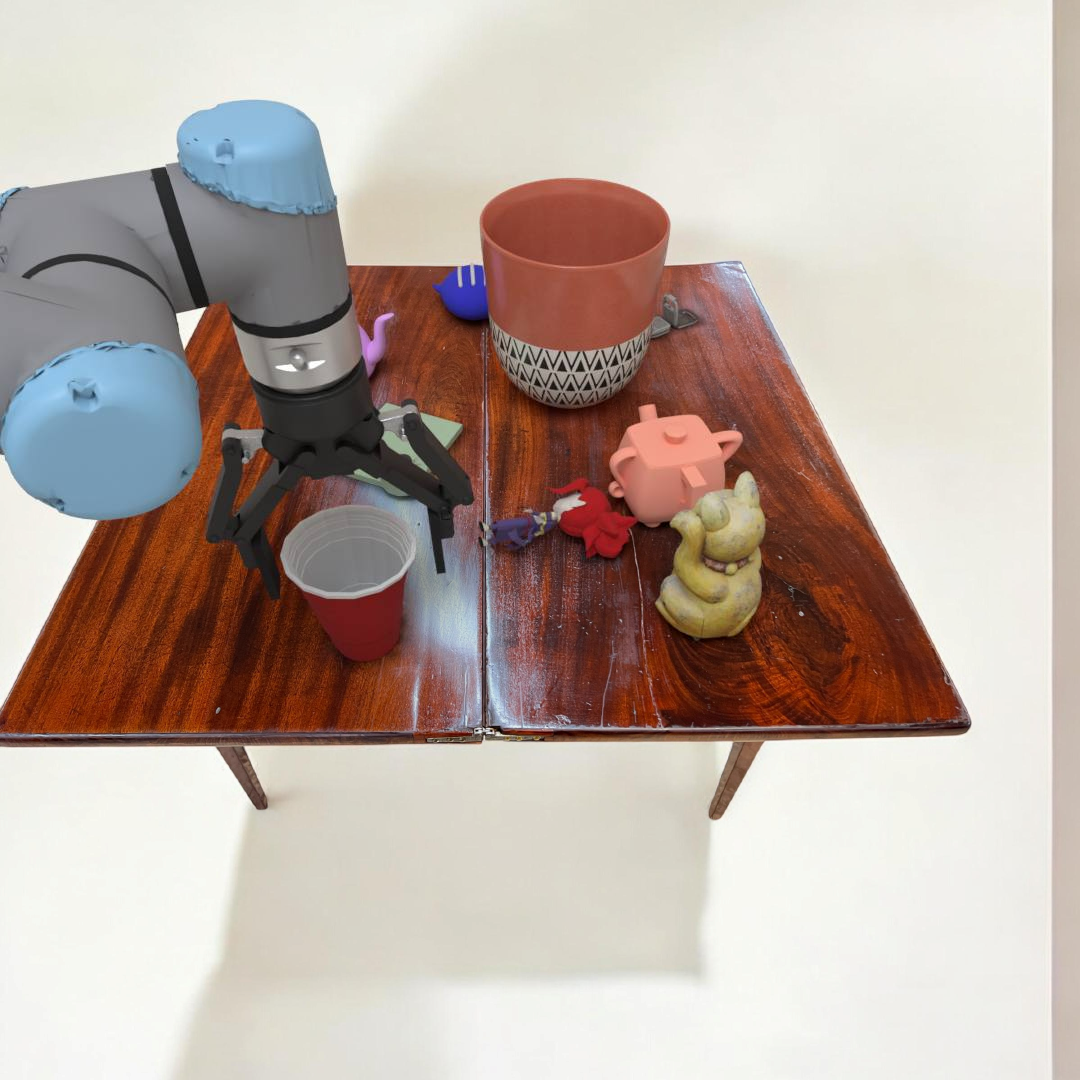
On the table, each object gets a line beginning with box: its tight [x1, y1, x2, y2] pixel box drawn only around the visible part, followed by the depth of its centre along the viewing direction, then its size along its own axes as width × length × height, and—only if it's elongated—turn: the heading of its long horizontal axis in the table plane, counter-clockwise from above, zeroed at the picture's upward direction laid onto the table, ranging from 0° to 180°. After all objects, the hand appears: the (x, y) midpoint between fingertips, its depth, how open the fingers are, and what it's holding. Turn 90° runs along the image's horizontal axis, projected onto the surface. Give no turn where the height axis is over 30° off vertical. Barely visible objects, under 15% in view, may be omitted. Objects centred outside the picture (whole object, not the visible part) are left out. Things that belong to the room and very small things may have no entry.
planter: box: [478, 177, 672, 410], centre depth 95 cm, size 20×20×21 cm
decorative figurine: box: [654, 470, 766, 642], centre depth 74 cm, size 10×8×15 cm
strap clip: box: [650, 293, 700, 339], centre depth 111 cm, size 8×3×4 cm, turn 121°
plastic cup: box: [279, 504, 417, 662], centre depth 73 cm, size 11×11×12 cm
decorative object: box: [432, 262, 489, 321], centre depth 113 cm, size 10×6×10 cm
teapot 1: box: [358, 312, 395, 379], centre depth 101 cm, size 12×14×9 cm
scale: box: [344, 402, 464, 497], centre depth 93 cm, size 13×11×2 cm
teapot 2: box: [608, 403, 744, 528], centre depth 86 cm, size 12×12×10 cm
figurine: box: [477, 477, 639, 559], centre depth 83 cm, size 6×8×15 cm
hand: (358, 574), depth 72 cm, fingers open, 13 cm apart
